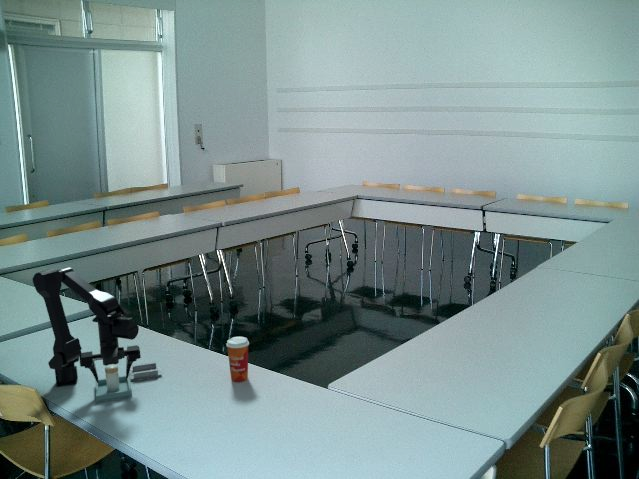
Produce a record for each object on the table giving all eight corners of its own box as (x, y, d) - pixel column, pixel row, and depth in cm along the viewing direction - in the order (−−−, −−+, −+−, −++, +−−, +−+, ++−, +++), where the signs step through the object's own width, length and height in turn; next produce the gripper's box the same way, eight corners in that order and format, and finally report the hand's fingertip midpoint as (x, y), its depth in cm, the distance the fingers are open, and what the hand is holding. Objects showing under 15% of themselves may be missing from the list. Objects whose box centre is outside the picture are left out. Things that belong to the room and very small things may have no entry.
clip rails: (130, 381, 221) (130, 374, 220) (129, 372, 228) (128, 365, 228) (161, 376, 224) (161, 369, 224) (159, 368, 231) (158, 361, 231)
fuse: (107, 393, 211) (104, 370, 209) (106, 388, 214) (104, 365, 213) (120, 391, 212) (118, 368, 210) (119, 386, 216) (117, 363, 214)
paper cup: (223, 381, 219) (221, 342, 217) (236, 372, 226) (234, 334, 223) (242, 385, 216) (240, 345, 213) (255, 376, 223) (253, 338, 220)
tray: (96, 402, 206) (95, 396, 205) (95, 386, 218) (95, 380, 217) (132, 396, 209) (131, 390, 209) (129, 380, 221) (129, 374, 221)
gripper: (77, 348, 199) (82, 394, 202) (140, 339, 205) (143, 385, 208) (77, 336, 209) (82, 380, 212) (137, 328, 215) (141, 372, 218)
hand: (112, 380), depth 213 cm, fingers open, 9 cm apart
